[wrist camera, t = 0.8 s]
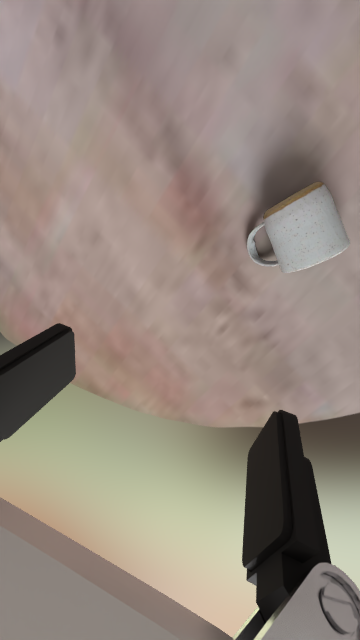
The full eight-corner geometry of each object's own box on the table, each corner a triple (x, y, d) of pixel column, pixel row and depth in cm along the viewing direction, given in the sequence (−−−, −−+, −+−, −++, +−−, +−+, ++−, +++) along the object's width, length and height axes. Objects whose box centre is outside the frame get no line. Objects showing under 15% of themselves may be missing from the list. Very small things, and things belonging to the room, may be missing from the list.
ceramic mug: (316, 179, 28) (332, 170, 21) (340, 240, 30) (361, 248, 23) (237, 227, 33) (230, 232, 26) (261, 276, 35) (260, 292, 28)
